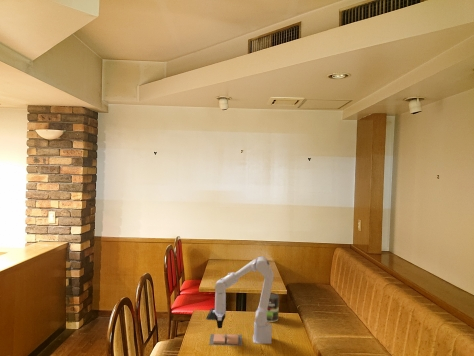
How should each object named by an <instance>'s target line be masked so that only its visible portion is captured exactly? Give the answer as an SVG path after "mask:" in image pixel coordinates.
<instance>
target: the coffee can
mask: <svg viewBox="0 0 474 356" xmlns="http://www.w3.org/2000/svg"><path fill="white" fill-rule="evenodd" d="M279 307H280V295H279V294H278V293H274V292H271V293H270V298H269V303H268V307H267V322H268V323H275V322H277V321H278V320H279V312H280V310H279V309H280V308H279Z"/></svg>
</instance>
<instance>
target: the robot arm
mask: <svg viewBox="0 0 474 356" xmlns="http://www.w3.org/2000/svg"><path fill="white" fill-rule="evenodd" d="M249 272H255V273H256V272H257V273H259V274H261V275H262V276H263V278H264V280H263V284H262V290H261V293H260V299H259V302H258V303H259V304H258V307H257V309H256V310H255V312H254V314H255V315H254V316H255V317H254V322H253V335H252V341H253V344H272V337H273V335H272V332H273V331H272V329H273V327H272V323H271V322H267V307H268V303H269V298H270V293H272V287H273V282H274V277H275V275H274V271H273V269H272V266H271V264H270V261H269V260H268V259H267V258H266V257H265V256H262V255H261V256H258V257H256V258H254V259H253V260H251V261H250V262H248V263H247V264H245V265H243V267H242V268H240V269H239V270H237V271H236V272H234V271H231V272H228V273H227V275H225V276H224V277H221V278H220V279H218V280H217V281H216V282H215V285H214V290H215V294H214V296H215V297H214V309H215V310H213V313H215V319H216V320H215V321H216V327H217V329H222V328H223V325H224V320H225V319H226V313H227V309H226V307H227V303H226V301H227V299H226V298H227V294H226V289H228V288H230V287H232V286H233V285H235V284H236V283H238V282H239V279H240V278H241V277H243V276H244V275H246V274H248V273H249Z"/></svg>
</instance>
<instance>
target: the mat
mask: <svg viewBox="0 0 474 356" xmlns="http://www.w3.org/2000/svg"><path fill="white" fill-rule="evenodd" d="M214 334H215V333H210V335H209V344H208V345H209V346H243V335H242V334H237V335H238V344H227V334H228V333H226V334H225V333H224V334H225V343H224V344H218V343H213V339H214ZM229 334H230V333H229ZM230 335H234V333H233V334H230Z"/></svg>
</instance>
